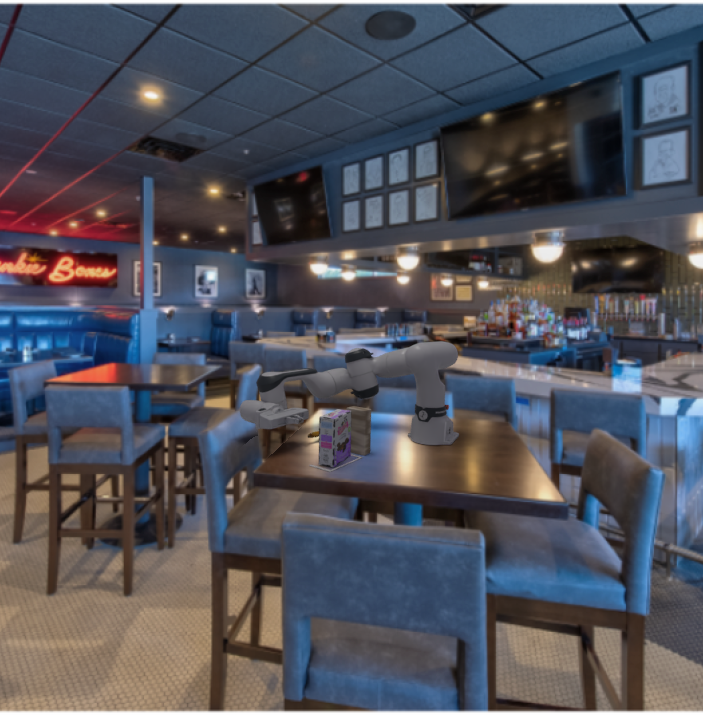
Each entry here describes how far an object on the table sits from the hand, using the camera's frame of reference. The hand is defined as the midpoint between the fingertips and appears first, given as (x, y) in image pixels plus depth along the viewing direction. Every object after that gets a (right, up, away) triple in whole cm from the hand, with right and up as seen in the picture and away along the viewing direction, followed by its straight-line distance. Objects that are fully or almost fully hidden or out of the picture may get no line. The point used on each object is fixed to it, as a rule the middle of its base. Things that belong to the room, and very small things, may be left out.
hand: (300, 421), depth 165 cm
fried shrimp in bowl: (+9, -10, +19) cm, 23 cm away
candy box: (+12, -13, -6) cm, 19 cm away
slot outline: (+12, -13, -7) cm, 19 cm away
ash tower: (+20, -12, +4) cm, 24 cm away
